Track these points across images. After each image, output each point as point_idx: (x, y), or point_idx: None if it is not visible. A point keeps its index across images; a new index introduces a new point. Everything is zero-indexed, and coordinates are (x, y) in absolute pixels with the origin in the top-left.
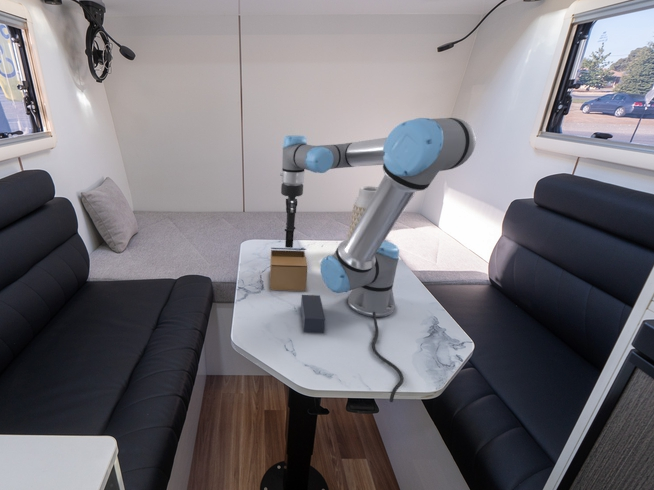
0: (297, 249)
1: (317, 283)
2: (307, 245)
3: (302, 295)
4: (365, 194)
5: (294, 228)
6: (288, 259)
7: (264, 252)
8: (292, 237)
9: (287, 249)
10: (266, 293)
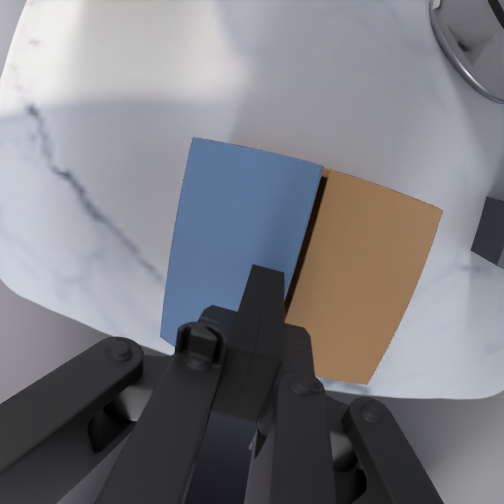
0: (256, 214)
1: (336, 116)
2: (19, 90)
3: (500, 264)
4: None
5: (225, 347)
6: (337, 292)
7: (48, 256)
8: (280, 322)
9: (185, 255)
10: None
